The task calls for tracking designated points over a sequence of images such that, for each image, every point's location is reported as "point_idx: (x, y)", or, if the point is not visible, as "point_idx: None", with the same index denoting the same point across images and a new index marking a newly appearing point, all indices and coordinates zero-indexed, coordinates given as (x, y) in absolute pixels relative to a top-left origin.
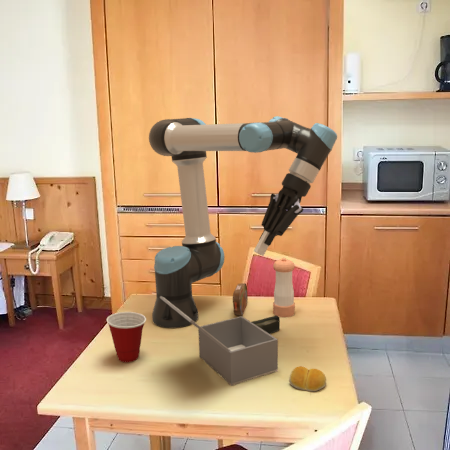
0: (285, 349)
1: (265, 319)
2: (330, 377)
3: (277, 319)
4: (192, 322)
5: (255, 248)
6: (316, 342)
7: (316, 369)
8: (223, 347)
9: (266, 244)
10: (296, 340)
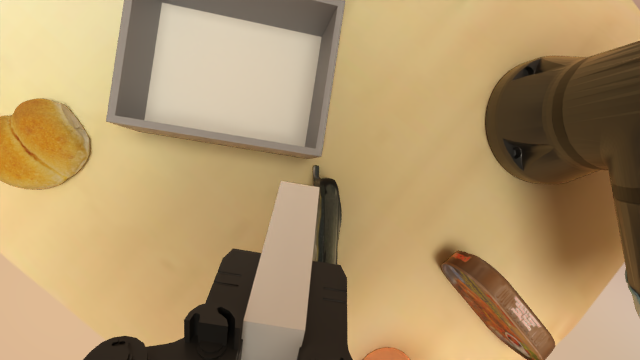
0: (214, 227)
1: (326, 258)
2: (22, 210)
3: None
4: None
5: (312, 199)
6: None
7: (22, 174)
8: None
9: (232, 254)
10: None
